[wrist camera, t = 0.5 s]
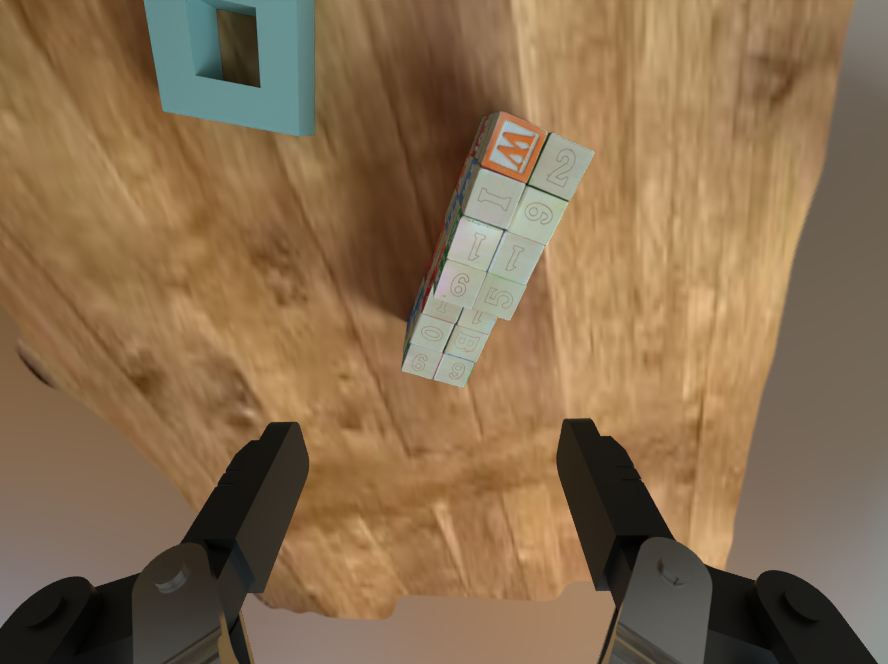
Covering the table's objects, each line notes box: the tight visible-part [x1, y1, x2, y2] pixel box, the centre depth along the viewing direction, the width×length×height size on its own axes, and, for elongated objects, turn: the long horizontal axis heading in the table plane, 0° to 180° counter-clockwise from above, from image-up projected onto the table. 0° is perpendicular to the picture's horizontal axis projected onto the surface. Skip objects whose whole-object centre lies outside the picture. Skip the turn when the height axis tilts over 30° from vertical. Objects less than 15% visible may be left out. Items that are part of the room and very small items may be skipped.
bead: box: [144, 0, 315, 136], centre depth 27 cm, size 10×10×4 cm
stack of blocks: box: [401, 111, 595, 388], centre depth 32 cm, size 21×6×12 cm, turn 160°
